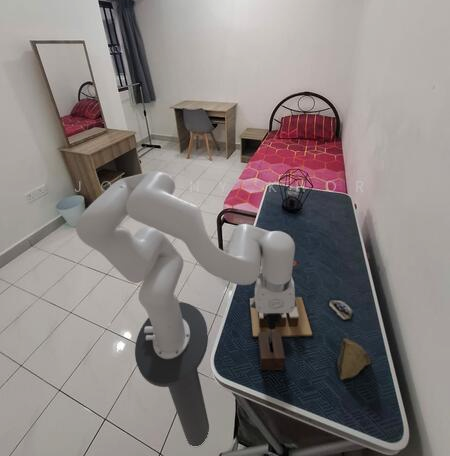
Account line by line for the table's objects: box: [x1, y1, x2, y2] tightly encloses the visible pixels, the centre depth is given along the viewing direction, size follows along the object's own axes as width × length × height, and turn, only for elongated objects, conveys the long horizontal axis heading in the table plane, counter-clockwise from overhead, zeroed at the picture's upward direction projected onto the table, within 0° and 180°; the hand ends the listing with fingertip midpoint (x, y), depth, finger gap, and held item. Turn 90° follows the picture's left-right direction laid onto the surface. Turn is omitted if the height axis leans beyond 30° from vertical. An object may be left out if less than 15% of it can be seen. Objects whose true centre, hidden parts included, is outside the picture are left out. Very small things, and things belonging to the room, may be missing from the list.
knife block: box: [257, 332, 286, 371], centre depth 75 cm, size 7×7×7 cm
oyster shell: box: [328, 299, 354, 320], centre depth 88 cm, size 7×8×2 cm
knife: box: [268, 313, 277, 343], centre depth 69 cm, size 2×3×14 cm, turn 173°
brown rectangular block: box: [286, 307, 299, 327], centre depth 85 cm, size 3×8×6 cm, turn 0°
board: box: [249, 296, 313, 338], centre depth 87 cm, size 20×13×1 cm, turn 90°
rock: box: [337, 338, 371, 381], centre depth 71 cm, size 11×9×10 cm
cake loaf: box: [258, 312, 286, 327], centre depth 85 cm, size 9×8×6 cm
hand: (272, 318), depth 68 cm, fingers closed on knife, 2 cm apart
